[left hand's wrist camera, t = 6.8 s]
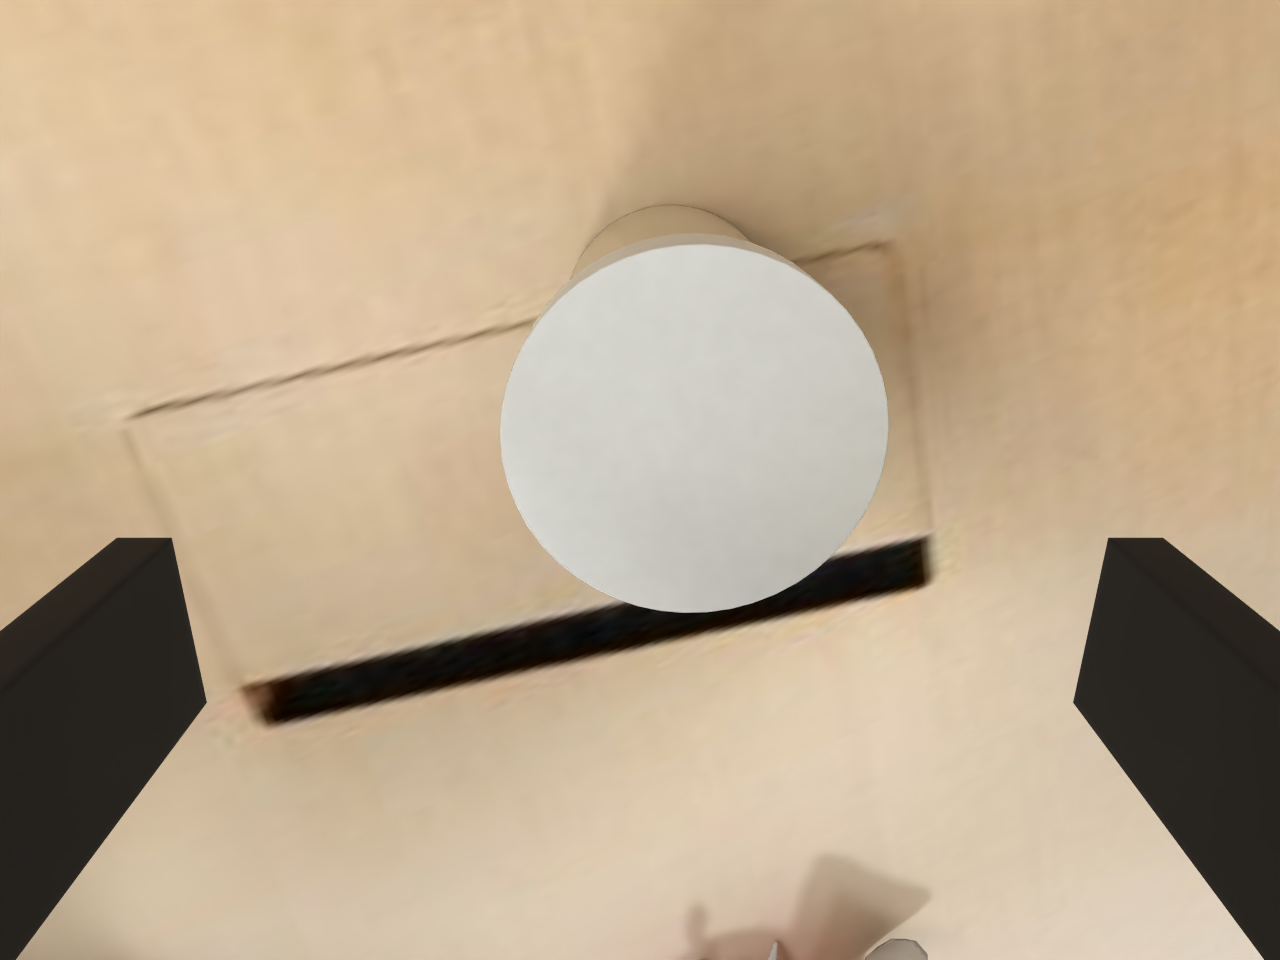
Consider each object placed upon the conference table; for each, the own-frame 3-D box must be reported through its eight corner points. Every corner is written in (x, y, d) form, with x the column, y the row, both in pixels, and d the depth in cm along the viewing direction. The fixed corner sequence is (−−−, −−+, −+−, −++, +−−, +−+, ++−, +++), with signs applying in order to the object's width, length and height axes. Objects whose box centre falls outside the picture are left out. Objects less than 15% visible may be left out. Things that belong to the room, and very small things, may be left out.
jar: (697, 159, 34) (743, 184, 19) (812, 336, 36) (928, 474, 22) (523, 288, 35) (449, 398, 21) (645, 449, 38) (651, 644, 24)
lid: (740, 152, 21) (752, 155, 19) (931, 454, 24) (959, 484, 22) (438, 375, 23) (419, 399, 21) (647, 630, 25) (648, 674, 23)
